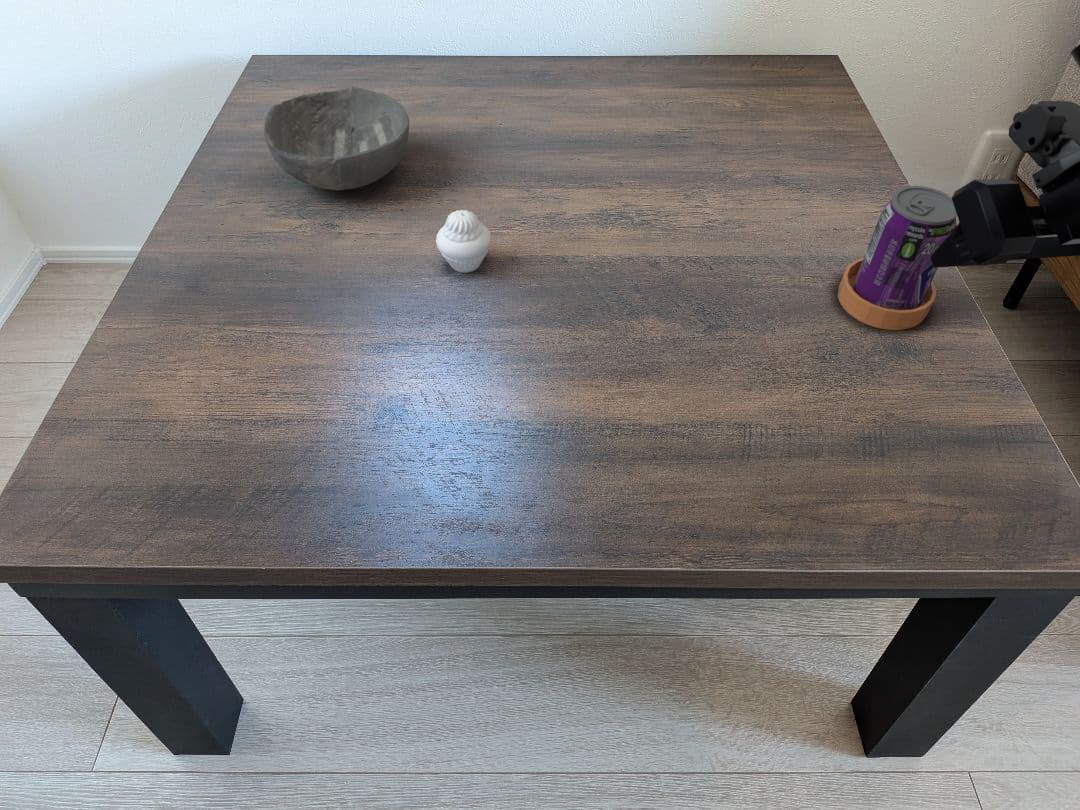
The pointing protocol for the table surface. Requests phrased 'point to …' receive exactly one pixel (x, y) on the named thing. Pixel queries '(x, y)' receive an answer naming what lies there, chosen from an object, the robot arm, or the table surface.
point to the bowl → (337, 137)
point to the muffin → (463, 241)
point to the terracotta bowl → (875, 313)
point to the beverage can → (905, 248)
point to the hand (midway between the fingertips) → (971, 258)
